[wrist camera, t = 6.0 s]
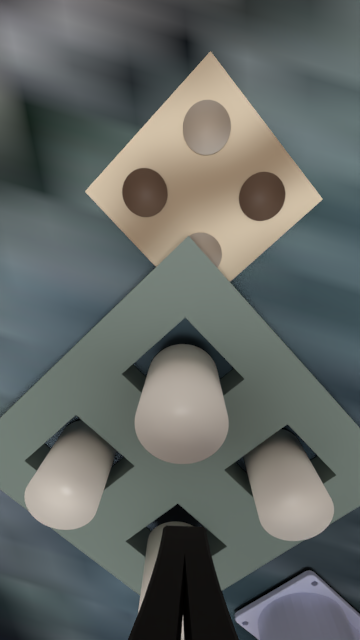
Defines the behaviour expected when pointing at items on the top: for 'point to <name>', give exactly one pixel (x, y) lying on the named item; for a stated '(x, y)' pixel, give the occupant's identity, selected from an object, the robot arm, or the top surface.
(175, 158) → the tile
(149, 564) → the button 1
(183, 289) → the grey-green board with holes
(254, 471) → the beige cylinder
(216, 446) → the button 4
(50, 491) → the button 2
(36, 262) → the top surface
